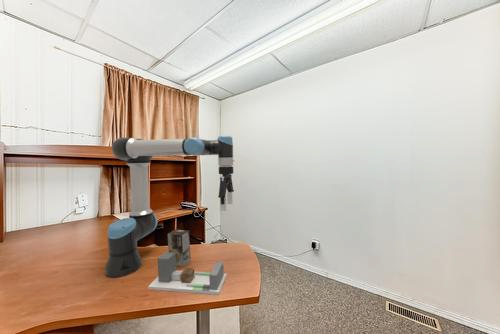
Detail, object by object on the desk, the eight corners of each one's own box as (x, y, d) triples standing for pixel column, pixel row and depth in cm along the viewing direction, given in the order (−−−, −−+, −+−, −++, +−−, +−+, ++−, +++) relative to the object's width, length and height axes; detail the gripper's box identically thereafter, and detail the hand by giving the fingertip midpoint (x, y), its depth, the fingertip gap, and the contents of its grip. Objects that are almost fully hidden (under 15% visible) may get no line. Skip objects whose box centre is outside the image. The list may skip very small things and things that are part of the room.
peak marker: (181, 282, 83) (180, 273, 83) (186, 276, 87) (185, 267, 87) (190, 283, 82) (189, 274, 82) (194, 276, 87) (194, 268, 87)
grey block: (158, 281, 84) (157, 258, 83) (165, 273, 89) (164, 252, 89) (178, 282, 82) (177, 259, 82) (184, 274, 88) (183, 253, 87)
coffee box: (191, 260, 103) (190, 230, 102) (183, 267, 97) (182, 235, 96) (177, 258, 106) (175, 228, 105) (168, 264, 100) (167, 233, 99)
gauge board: (148, 289, 81) (147, 272, 81) (164, 272, 93) (164, 257, 92) (218, 294, 77) (218, 277, 76) (226, 276, 89) (226, 260, 88)
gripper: (226, 167, 88) (228, 214, 89) (237, 165, 113) (238, 201, 114) (210, 167, 89) (212, 213, 90) (225, 165, 114) (226, 201, 115)
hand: (226, 207), depth 102 cm, fingers open, 13 cm apart
